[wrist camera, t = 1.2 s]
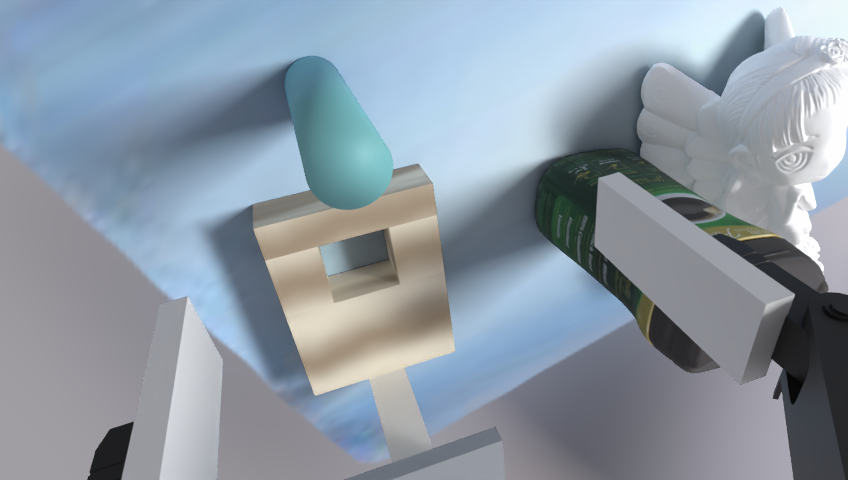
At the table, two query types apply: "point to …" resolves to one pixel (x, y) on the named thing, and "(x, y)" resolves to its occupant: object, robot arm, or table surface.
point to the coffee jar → (577, 202)
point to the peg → (335, 137)
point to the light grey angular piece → (427, 441)
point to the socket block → (360, 282)
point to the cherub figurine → (755, 130)
